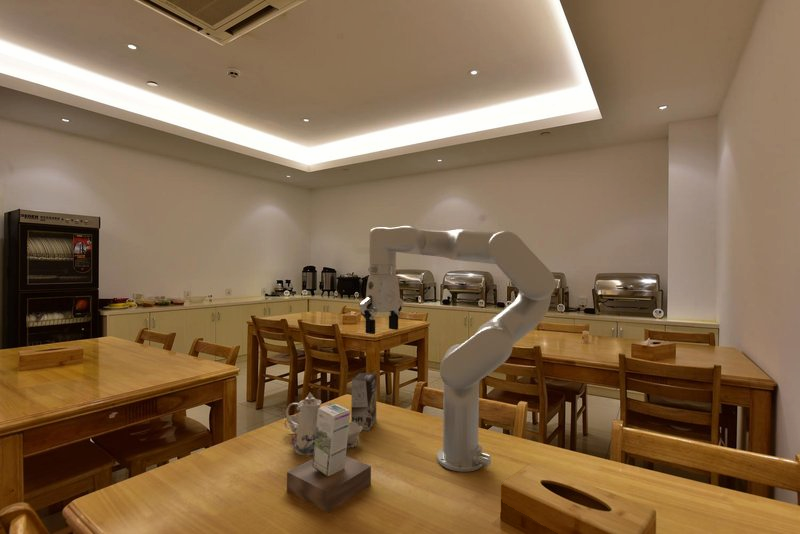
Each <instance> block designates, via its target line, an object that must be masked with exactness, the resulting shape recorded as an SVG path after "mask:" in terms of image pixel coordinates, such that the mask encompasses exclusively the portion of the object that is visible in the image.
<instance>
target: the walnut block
mask: <svg viewBox="0 0 800 534" xmlns="http://www.w3.org/2000/svg"><path fill="white" fill-rule="evenodd" d="M312 465H313V458H312V459H310V460H308V461H306V462H304V463H302V464H300V465H297V466H296V467H294V468H291V469H289V470H288V471H287V472H286V491H287V492H289V493H290V494H293V495H294V496H296V497H298V498H300V499H301V500H303V501H305V502H307V503H309V504H311V505H313V506H315V507H316V508H318V509H319V510H321V511H323V512H325V513H327V514H329V513H330V512H332V511H334V510H336V509H337V508H338V507H340V506H341V505H343V504H344V503H346V502H347V501H349V500H350V499H351V498H353V497H355V496H356V495H357V494H359V493H360V492H362V491H363V490H365V489H366V488H368V487H369V486H371V484H372V466H371V465H369V464H367V463H364V462H362V461H359V460H358V459H354V458H352V457H349V456H347V455H346V459H345V468H344V469H343V470H341V471H339V472H337V473H335V474H333V475H331V476H326V475H324V474H323V473H321V472H320V471H318V470H317V469H315V468H313V467H312Z"/></svg>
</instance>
